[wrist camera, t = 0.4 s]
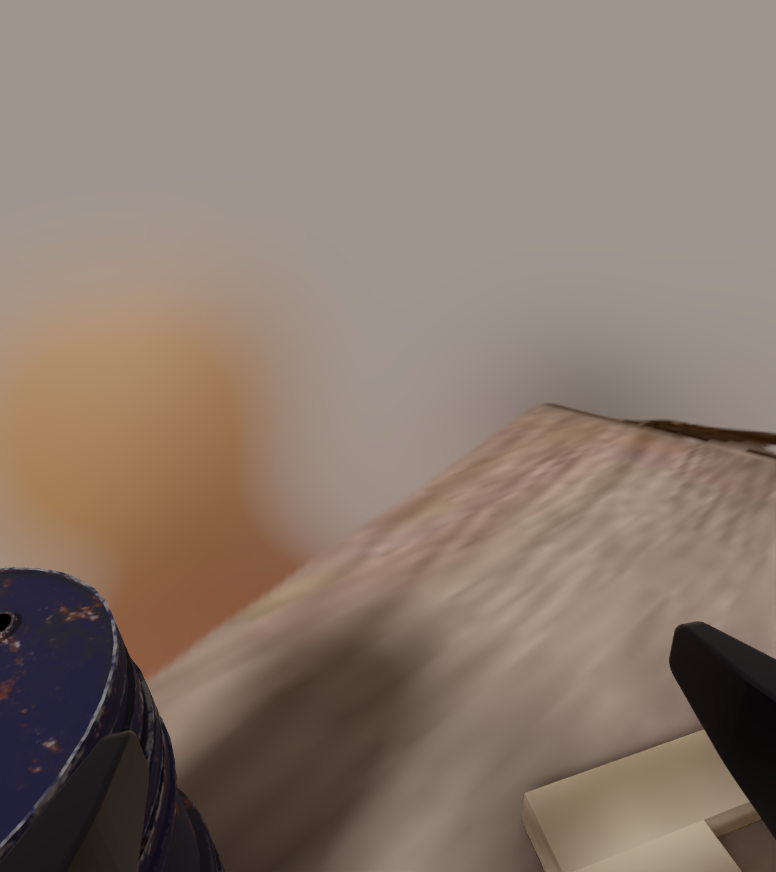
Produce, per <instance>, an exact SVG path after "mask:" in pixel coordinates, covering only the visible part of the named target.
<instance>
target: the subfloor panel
mask: <svg viewBox="0 0 776 872" xmlns="http://www.w3.org/2000/svg"><path fill="white" fill-rule="evenodd" d="M759 820H761V818H760V816H759V815H758V813H757V812H756V810H755V809H754V807H753V806H752V804H751V803H750V801H749V800H748V799H747V797H746V796H745V794H744V793H743V791H742V790H741V788H740V787H739V785H738V784H737V783H736V781H735V780H734V778H733V777H732V775H731V774H730V772H729V771H728V769H727V767H726V766H725V764H724V763H723V761H722V760H721V758H720V756H719V755H718V753H717V751H716V750H715V748H714V746H713V744H712V743H711V741H710V739H709V737H708V736H707V734H706V732H705V730H704V729H703V730H700V731H698V732H695V733H692V734H689V735H686V736H684V737H681V738H678V739H675V740H672V741H669V742H667V743H664V744H661V745H658V746H655V747H653V748H650V749H647V750H644V751H641V752H638V753H636V754H633V755H630V756H627V757H624V758H622V759H619V760H616V761H613V762H610V763H608V764H605V765H602V766H599V767H596V768H593V769H591V770H588V771H585V772H582V773H579V774H577V775H574V776H571V777H568V778H565V779H562V780H560V781H557V782H554V783H551V784H548V785H546V786H543V787H540V788H537V789H534V790H532V791H529V792H526V793H524V801H523V811H522V820H521V821H522V823H523V825H524V827H525V829H526V832H527V834H528V836H529V838H530V840H531V843H532V845H533V847H534V849H535V851H536V853H537V856H538V858H539V860H540V862H541V864H542V867H543V869H544V871H545V872H742V871H741V870H740V868H739V867H738V866H737V864H736V863H735V862H734V860H733V859H732V857H731V856H730V855H729V853H728V852H727V851H726V849H725V848H724V847H723V845H722V844H721V843H720V841H719V840H718V839H717V837H720V836H722V835H725V834H727V833H729V832H732V831H734V830H737V829H739V828H742V827H744V826H747V825H749V824H751V823H754V822H756V821H759Z"/></svg>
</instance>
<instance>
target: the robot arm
mask: <svg viewBox="0 0 776 872" xmlns="http://www.w3.org/2000/svg"><path fill="white" fill-rule="evenodd" d="M669 664H670V668H671V671H672V673H673V675H674V677H675V679H676V681H677V683H678V684H679V686H680V688H681V690H682V691H683V693H684V695H685V697H686V698H687V700H688V702H689V704H690V706H691V707H692V709H693V711H694V713H695V714H696V716H697V718H698V720H699V721H700V723H701V725H702V727H703V729H704V730H705V732H706V734H707V736H708V737H709V739H710V741H711V743H712V744H713V746H714V748H715V750H716V751H717V753H718V755H719V756H720V758H721V760H722V761H723V763H724V764H725V766H726V767H727V769H728V771H729V772H730V774H731V775H732V777H733V778H734V780H735V781H736V783H737V784H738V785H739V787H740V788H741V790H742V791H743V793H744V794H745V796H746V797H747V799H748V800H749V801H750V803H751V804H752V806H753V807H754V809H755V810H756V812H757V813H758V815H759V816H760V818H761V819H762V820H763V822H764V823H765V825H766V826H767V828H768V829H769V831H770V832H771V834H772V835H773V836H774V838H775V839H776V659H774V658H772V657H770V656H768V655H767V654H765V653H763V652H761V651H759V650H757V649H755V648H753V647H751V646H749V645H747V644H745V643H743V642H741V641H739V640H737V639H735V638H733V637H731V636H729V635H728V634H726V633H724V632H722V631H720V630H718V629H716V628H714V627H712V626H710V625H708V624H706V623H703V622H691V623H686V624H681V625H678V626H677V627H676V629H675V631H674V636H673V641H672V647H671V652H670V657H669ZM148 783H149V768H148V764H147V761H146V758H145V756H144V753H143V751H142V748H141V746H140V743H139V741H138V738H137V736H136V734H135V733H134V732H133V731H124V732H119V733H113V734H109V735H106V736H104V737H103V738H102V739H101V740H100V741H99V742H98V743H97V744H96V745H95V747H94V748H93V749H92V750H91V751H90V753H89V754H88V755H87V756H86V758H85V759H84V760H83V761H82V762H81V764H80V765H79V766H78V767H77V769H76V770H75V771H74V772H73V773H72V775H71V776H70V777H69V778H68V779H67V781H66V782H65V783H64V784H63V786H62V787H61V788H60V789H59V790H58V792H57V793H56V794H55V795H54V796H53V798H52V799H51V800H50V801H49V803H48V804H47V805H46V806H45V807H44V809H43V810H42V811H41V812H40V814H39V815H38V816H37V817H36V818H35V820H34V821H33V822H32V823H31V824H30V826H29V827H28V828H27V829H26V831H25V832H24V833H23V834H22V835H21V837H20V838H19V839H18V840H17V842H16V843H15V844H14V845H13V846H12V848H11V849H10V850H9V851H8V852H7V854H6V855H5V856H4V857H3V859H2V860H1V861H0V872H137V869H138V861H139V853H140V845H141V838H142V830H143V822H144V814H145V806H146V799H147V791H148Z"/></svg>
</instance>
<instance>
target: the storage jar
mask: <svg viewBox="0 0 776 872" xmlns="http://www.w3.org/2000/svg"><path fill="white" fill-rule="evenodd" d="M124 731H133V732H134V733H135V734H136V736H137V738H138V741H139V743H140V746H141V748H142V751H143V753H144V756H145V758H146V761H147V764H148V768H149V783H148V791H147V799H146V806H145V814H144V822H143V830H142V838H141V845H140V853H139V861H138V869H137V872H225V870H224V867H223V865H222V863H221V860H220V858H219V855H218V853H217V851H216V849H215V846H214V844H213V842H212V839H211V836H210V834H209V831H208V829H207V826H206V824H205V822H204V819H203V818H202V816H201V815H200V813H199V812H198V810H197V809H196V807H195V806H194V805H193V803H192V802H191V801H190V800H189V799H188V797H187V796H186V795H185V794H184V793H183V792H182V791H180V790H179V789H178V788H177V776H176V771H175V759H174V754H173V749H172V744H171V739H170V736H169V734H168V732H167V729H166V727H165V725H164V722H163V720H162V718H161V717H160V716H159V712H158V710H157V707H156V705H155V702H154V700H153V698H152V695H151V693H150V690H149V688H148V686H147V684H146V681H145V679H144V677H143V675H142V672H141V670H140V669H139V668H138V666H137V665H136V664H135V663H134V662H133V660H132V659H131V658H130V656H129V653H128V651H127V649H126V647H125V644H124V641H123V639H122V637H121V635H120V632H119V630H118V627H117V625H116V623H115V620H114V618H113V616H112V614H111V611H110V609H109V606H108V604H107V602H106V601H105V600H104V599H103V598H102V597H101V595H100V594H99V593H98V592H97V591H96V590H95V589H94V588H93V587H91V586H90V585H88V584H86V583H85V582H83V581H82V580H80V579H78V578H76V577H73V576H70V575H67V574H65V573H62V572H58V571H52V570H46V569H40V568H15V567H14V568H1V569H0V861H1V860H2V859H3V857H4V856H5V855H6V854H7V852H8V851H9V850H10V849H11V848H12V846H13V845H14V844H15V843H16V842H17V840H18V839H19V838H20V837H21V835H22V834H23V833H24V832H25V831H26V829H27V828H28V827H29V826H30V824H31V823H32V822H33V821H34V820H35V818H36V817H37V816H38V815H39V814H40V812H41V811H42V810H43V809H44V807H45V806H46V805H47V804H48V803H49V801H50V800H51V799H52V798H53V796H54V795H55V794H56V793H57V792H58V790H59V789H60V788H61V787H62V786H63V784H64V783H65V782H66V781H67V779H68V778H69V777H70V776H71V775H72V773H73V772H74V771H75V770H76V769H77V767H78V766H79V765H80V764H81V762H82V761H83V760H84V759H85V758H86V756H87V755H88V754H89V753H90V751H91V750H92V749H93V748H94V747H95V745H96V744H97V743H98V742H99V741H100V740H101V739H102V738H103V737H104V736H106V735H109V734H113V733H119V732H124Z"/></svg>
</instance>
